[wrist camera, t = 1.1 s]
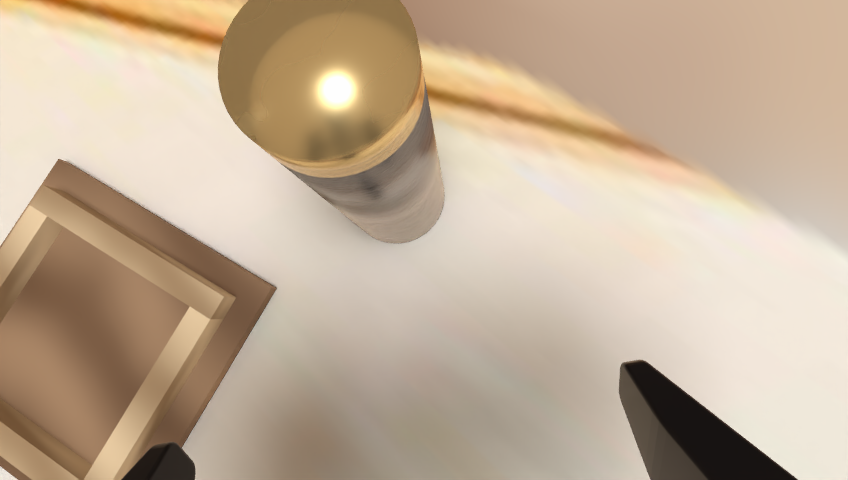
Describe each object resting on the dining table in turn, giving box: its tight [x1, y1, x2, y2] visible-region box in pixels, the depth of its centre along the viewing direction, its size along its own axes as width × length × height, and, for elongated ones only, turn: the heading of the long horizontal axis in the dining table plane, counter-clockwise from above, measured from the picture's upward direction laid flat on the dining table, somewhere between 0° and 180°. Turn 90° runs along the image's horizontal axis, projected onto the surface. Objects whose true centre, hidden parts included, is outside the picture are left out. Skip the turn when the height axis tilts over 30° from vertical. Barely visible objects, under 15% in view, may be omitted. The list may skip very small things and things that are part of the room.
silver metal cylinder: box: [218, 0, 444, 243], centre depth 17 cm, size 5×5×13 cm
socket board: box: [0, 159, 276, 480], centre depth 23 cm, size 14×14×2 cm
